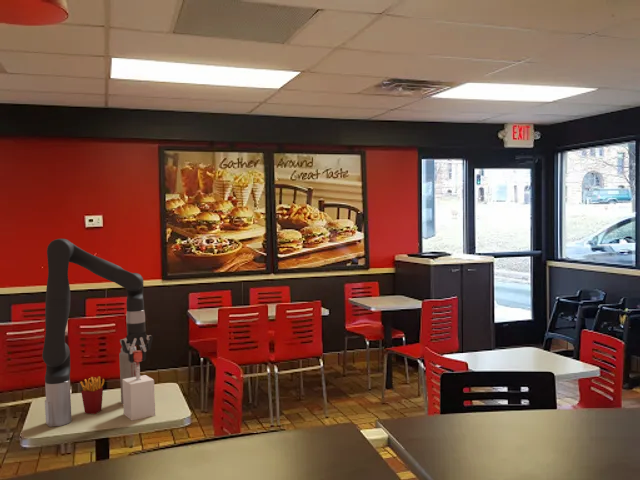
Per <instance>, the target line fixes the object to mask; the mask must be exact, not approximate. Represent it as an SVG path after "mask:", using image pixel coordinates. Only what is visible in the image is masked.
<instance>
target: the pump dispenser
mask: <svg viewBox="0 0 640 480" xmlns="http://www.w3.org/2000/svg"><path fill="white" fill-rule="evenodd" d="M122 383H123V404H122V405H123V406H122V407H123V415H124V416H126V418H128V419H129V420H131V421H137V420H141V419H143V418H144V419H146V418H149V417H152V416H156V399H155V398H156V397H155V394H156V393H155V392H156V391H155V379H153V378H152V377H150V376H148V375H146V374H143V375H140V380H137V381H136V377H132V378H126V379H122Z"/></svg>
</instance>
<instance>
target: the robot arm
mask: <svg viewBox="0 0 640 480" xmlns="http://www.w3.org/2000/svg"><path fill="white" fill-rule="evenodd" d="M46 256H47V270H48V271H47V281H46V291H45V293H46V294H45V305H44V306H45V307H44V308H45V309H44V310H45V315H44V318H45V320H44V321H45V335H44V343H43V348H42V353H41V355H42V360H43V362H44V364H45V365H46V366H45V367H46V368H45V369H46V370H45V376H44V383H45V385H44V387H45V400H44V410H45V411H44V412H45V414H44V415H45V423H46V425H47V426H48V427H60V426H65V425H68V424H70V423H71V422H72V399H71V377H70V376H71V351H70V347H69V345H68V344H67V343H66V329H67V324H68V321H69V316H70V310H71V289H70V288H71V287H70V286H71V285H70V280H69V265H70V263H71V264H75V265H78V266H80V267H82V268H84V269H86V270H87V271H89V272H91V273H93V274H95V275H96V276H99V277H100V278H103V279H104V280H107V281H110V282H113V283H115V284H116V285H119V286H120V287H121V288H124V289H125V290H126V303H125V305H126V314H125V317H126V319H125V322H126V337H124V338H122V339H121V338H120V339H119V343H120V346H121V348H122V349H123V352H124V353H127V354H128V360H129V362H130V363H133V354H132V353H133V349H134V347H137V346H139V347H140V350H142V351H143V361H142V362H145V361H146V359H147V352H148V351H150V350H151V348H152V344H153V339H154V335H151V334H149V335H148V334H147V333H146V327H147V326H146V312H145V301H144V277H143V276H142V275H141V274H140V273H137V272H130V271H128V270H126V269H124V268H122V266H120V265H117V264H115V263H114V262H111V261H108V260H106V259H104V258H102V257H99V256H97V255H94V254H92V253H90V252H87V251H85V250H84V249H82V248H81V247H79V246H77V245H76V244H74V243H73V242H71V241H70V240H69V239H66V238H57V239H56V238H55V239H53V240H52V241H50V243H48V245H47V248H46ZM146 340H147V341H146ZM126 341H128V342H129V349H128V350H127V347H126ZM145 341H146V344H145Z"/></svg>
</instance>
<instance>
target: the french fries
mask: <svg viewBox="0 0 640 480" xmlns="http://www.w3.org/2000/svg"><path fill="white" fill-rule="evenodd" d="M79 383H80V385H81V388H82V390H81V397H82V402H83V409H84V415H85V414H87V415H88V414H89V415H95V414H98V413H99V412H101V411H103V410H102V406H103V394H104V384H105V379H104V378H102V381H101V376H97V377H94V376H90V378H88V379H86V378H85V379H84V382H83V381H79Z"/></svg>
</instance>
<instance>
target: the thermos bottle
mask: <svg viewBox="0 0 640 480" xmlns="http://www.w3.org/2000/svg"><path fill="white" fill-rule="evenodd" d="M126 347H127V350H128V349H129V342H128V341H126ZM136 350H137V346H135V347H134V349H133V351H136ZM119 377H120V382H119V383H120V400H121V401H120V402H121V404H122V405H123V383H122V379H126V378H132V377H136V363H135V362H133V363H130V362H129V360H128V354H127V353H124V352H123V349H122V347H121V348H120V352H119Z"/></svg>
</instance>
